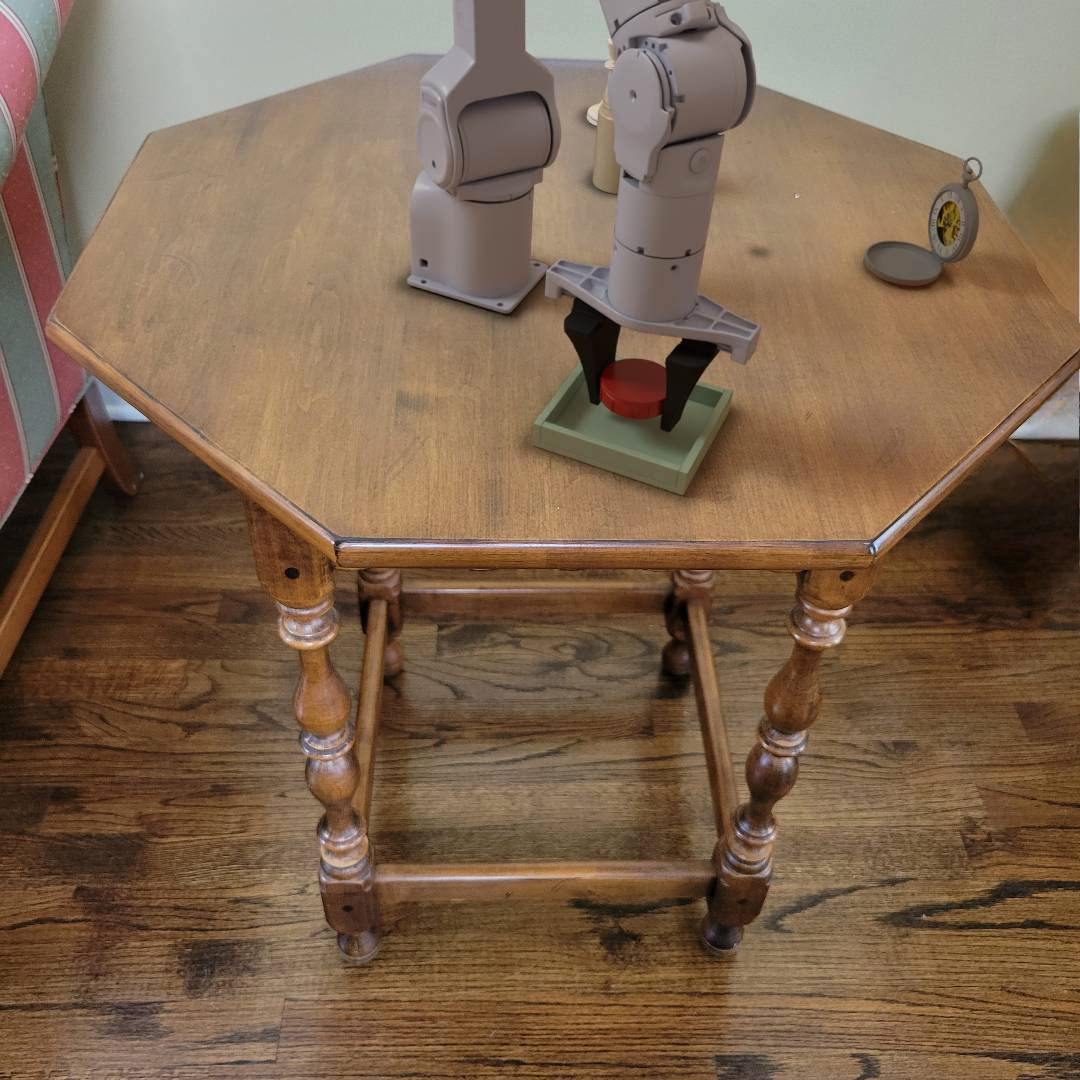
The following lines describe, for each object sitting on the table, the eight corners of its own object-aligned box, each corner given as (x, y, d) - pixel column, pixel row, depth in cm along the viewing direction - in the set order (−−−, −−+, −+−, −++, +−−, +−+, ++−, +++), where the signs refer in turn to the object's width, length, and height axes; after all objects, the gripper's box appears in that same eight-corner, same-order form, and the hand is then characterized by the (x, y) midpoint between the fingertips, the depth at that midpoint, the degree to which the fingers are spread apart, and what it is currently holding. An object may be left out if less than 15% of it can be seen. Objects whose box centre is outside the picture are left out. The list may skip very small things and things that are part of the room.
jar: (584, 187, 102) (591, 101, 96) (603, 166, 105) (611, 83, 100) (631, 199, 101) (641, 113, 95) (648, 178, 104) (659, 94, 98)
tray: (531, 445, 75) (533, 422, 73) (588, 369, 81) (590, 347, 80) (683, 496, 72) (687, 473, 70) (728, 412, 78) (733, 390, 77)
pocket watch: (847, 267, 94) (878, 158, 87) (898, 236, 98) (932, 130, 91) (928, 306, 90) (968, 195, 83) (978, 272, 94) (1020, 164, 87)
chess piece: (641, 117, 114) (652, 19, 107) (618, 133, 111) (629, 33, 104) (601, 105, 116) (609, 7, 109) (577, 120, 113) (585, 21, 106)
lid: (652, 428, 72) (655, 411, 71) (586, 402, 74) (588, 385, 72) (684, 390, 75) (687, 374, 74) (620, 366, 77) (622, 349, 76)
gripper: (793, 241, 66) (752, 415, 76) (586, 178, 71) (571, 349, 80) (752, 293, 61) (713, 471, 71) (533, 222, 66) (524, 398, 76)
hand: (635, 410), depth 75 cm, fingers closed on lid, 5 cm apart
